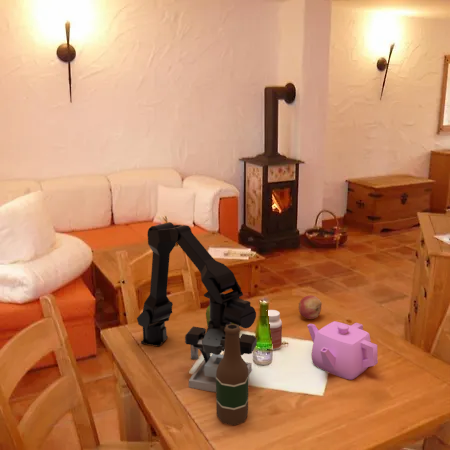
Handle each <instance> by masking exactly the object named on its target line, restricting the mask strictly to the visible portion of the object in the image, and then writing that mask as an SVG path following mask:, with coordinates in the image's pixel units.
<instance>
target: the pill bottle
mask: <svg viewBox="0 0 450 450" xmlns="http://www.w3.org/2000/svg"><path fill="white" fill-rule="evenodd" d="M267 310H268V316H269V324H270V330H271V337H272V344H273V350H272V351H276V350H279V349H280V348H281V347H282V340H283V331H282V330H283V322H282V320H281V313H280V311H278V310H276V309H267Z"/></svg>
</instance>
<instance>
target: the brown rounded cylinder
mask: <svg viewBox="0 0 450 450" xmlns="http://www.w3.org/2000/svg"><path fill="white" fill-rule="evenodd" d="M190 359H191V360H193V361H195V360H198V359H199V349H197V348H194V347H193V345H190Z"/></svg>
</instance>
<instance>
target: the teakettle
mask: <svg viewBox="0 0 450 450" xmlns="http://www.w3.org/2000/svg"><path fill="white" fill-rule="evenodd" d="M306 326H307V330H308V332H309V335H310V338H311V341H312V350H311V362H312V364H313V366H315V367H317V368H319V369H321V370H323V371H324V372H327V373H329V374H331V375H334V376H337V377H340V378H342V379H345V380H350V381H352V380H354V379H356V378H357V377H359V376H360V375H361V374H362V373H364V372H365V371H367V369H368V368H369V367H374V366H376V365H377V364H378V361H379V360H378V344H376V343H374V342H371V341H372V340H371V336H370V333H369V332H368V331H366V330H364V325H363V324H362V323H359V322H354V323H353V324H350V325H349V324H347V323H344V322H339V321H335V320H334V321H332V322H330V323H328V324H326V325H324V326H322V328H320V329H319V328H317V326H316V325H315V324H313V323H309V324H307V325H306Z"/></svg>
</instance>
